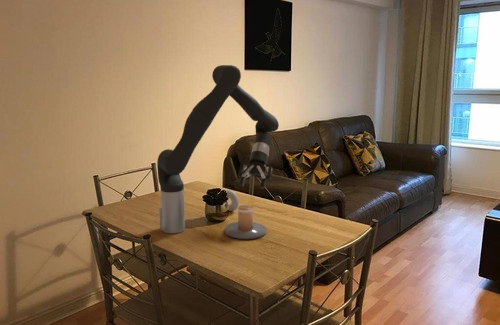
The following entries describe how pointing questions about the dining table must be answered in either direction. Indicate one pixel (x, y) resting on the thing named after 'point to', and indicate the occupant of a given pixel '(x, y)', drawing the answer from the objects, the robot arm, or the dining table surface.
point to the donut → (234, 200)
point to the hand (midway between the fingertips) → (251, 186)
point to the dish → (236, 233)
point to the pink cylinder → (245, 218)
